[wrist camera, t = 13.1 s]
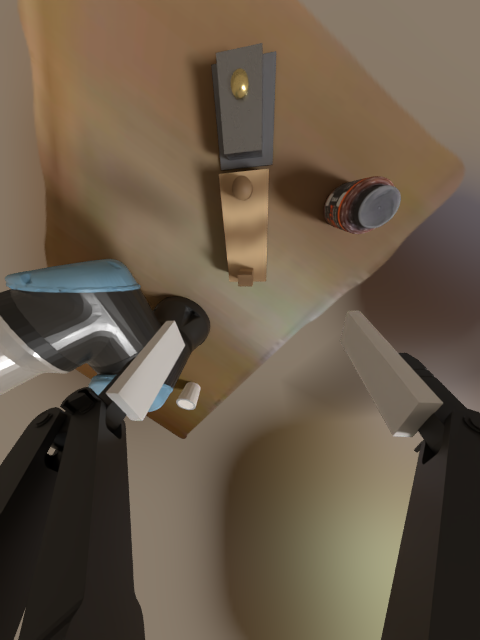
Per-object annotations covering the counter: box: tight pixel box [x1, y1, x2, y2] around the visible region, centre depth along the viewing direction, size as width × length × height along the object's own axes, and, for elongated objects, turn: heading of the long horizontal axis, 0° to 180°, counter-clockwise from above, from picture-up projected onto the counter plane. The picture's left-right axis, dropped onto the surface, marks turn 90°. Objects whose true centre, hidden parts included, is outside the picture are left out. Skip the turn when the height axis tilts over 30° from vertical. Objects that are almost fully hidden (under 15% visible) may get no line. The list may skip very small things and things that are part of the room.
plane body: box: [219, 169, 269, 286], centre depth 28 cm, size 16×7×8 cm, turn 4°
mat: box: [211, 51, 276, 170], centre depth 24 cm, size 8×10×1 cm
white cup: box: [176, 382, 201, 410], centre depth 61 cm, size 7×7×7 cm
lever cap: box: [216, 43, 263, 161], centre depth 22 cm, size 5×8×4 cm, turn 4°
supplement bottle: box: [324, 176, 401, 234], centre depth 23 cm, size 6×6×11 cm
